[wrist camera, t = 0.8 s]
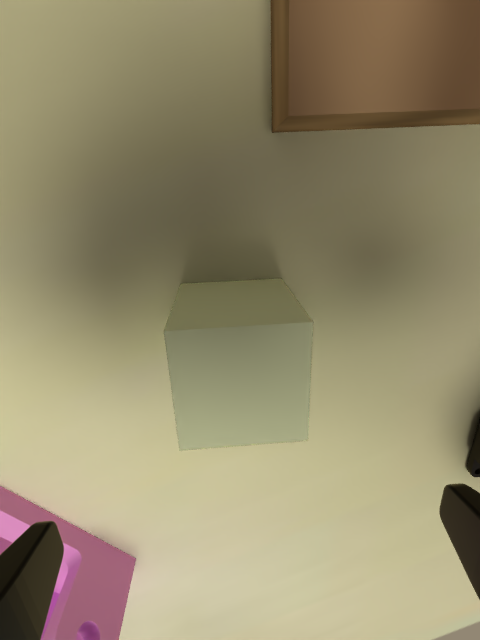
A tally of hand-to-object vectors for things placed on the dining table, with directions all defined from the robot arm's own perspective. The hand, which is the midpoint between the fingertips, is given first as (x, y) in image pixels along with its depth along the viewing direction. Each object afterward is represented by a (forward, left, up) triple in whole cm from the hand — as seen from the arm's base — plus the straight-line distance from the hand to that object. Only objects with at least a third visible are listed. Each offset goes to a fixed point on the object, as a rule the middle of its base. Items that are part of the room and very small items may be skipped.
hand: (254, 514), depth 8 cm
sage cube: (0, 0, -11) cm, 11 cm away
